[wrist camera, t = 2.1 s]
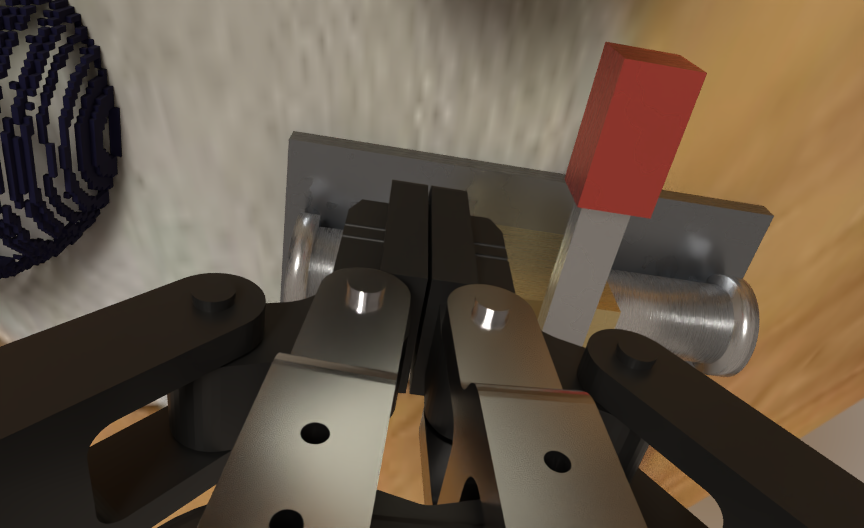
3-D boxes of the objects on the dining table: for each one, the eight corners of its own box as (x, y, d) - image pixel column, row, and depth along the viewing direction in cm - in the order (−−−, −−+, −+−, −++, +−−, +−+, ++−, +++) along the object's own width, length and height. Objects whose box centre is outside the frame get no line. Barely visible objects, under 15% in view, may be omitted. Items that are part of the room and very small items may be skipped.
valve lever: (597, 39, 21) (615, 56, 19) (688, 56, 21) (716, 74, 19) (492, 397, 29) (497, 436, 27) (559, 405, 29) (569, 445, 27)
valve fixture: (293, 131, 32) (246, 214, 24) (763, 206, 35) (868, 306, 26) (283, 316, 39) (242, 434, 30) (683, 370, 41) (748, 493, 32)
